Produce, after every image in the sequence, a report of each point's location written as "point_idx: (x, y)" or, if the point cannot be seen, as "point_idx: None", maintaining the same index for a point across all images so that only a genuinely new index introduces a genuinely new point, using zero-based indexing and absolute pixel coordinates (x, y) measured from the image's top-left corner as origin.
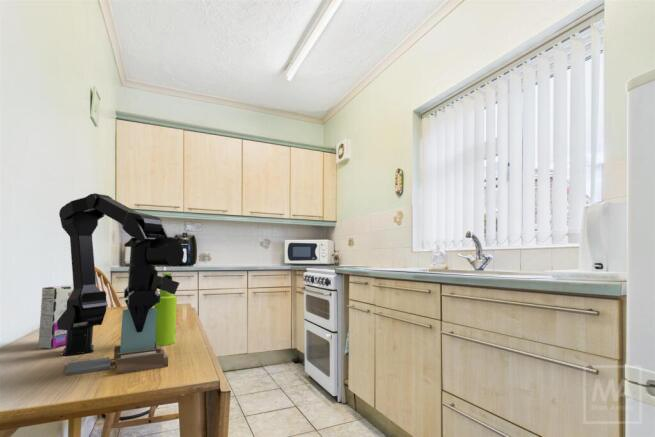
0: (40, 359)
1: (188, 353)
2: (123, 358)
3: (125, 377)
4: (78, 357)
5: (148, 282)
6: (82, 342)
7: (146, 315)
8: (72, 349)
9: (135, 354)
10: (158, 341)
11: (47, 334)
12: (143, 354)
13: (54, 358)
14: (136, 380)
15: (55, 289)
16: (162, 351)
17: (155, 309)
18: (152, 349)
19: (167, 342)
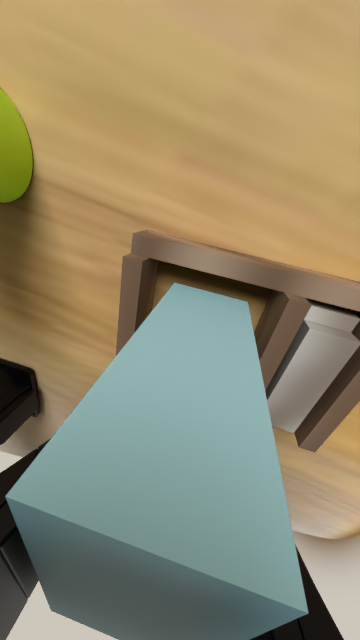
0: (48, 436)
1: (270, 101)
2: (320, 440)
3: (354, 412)
4: (67, 399)
5: None
6: (16, 412)
7: (311, 586)
8: (32, 413)
9: (286, 393)
10: (10, 184)
11: None
12: (317, 379)
13: (52, 424)
14: None
15: None
16: (280, 278)
17: (277, 611)
18: (285, 334)
19: (18, 136)
